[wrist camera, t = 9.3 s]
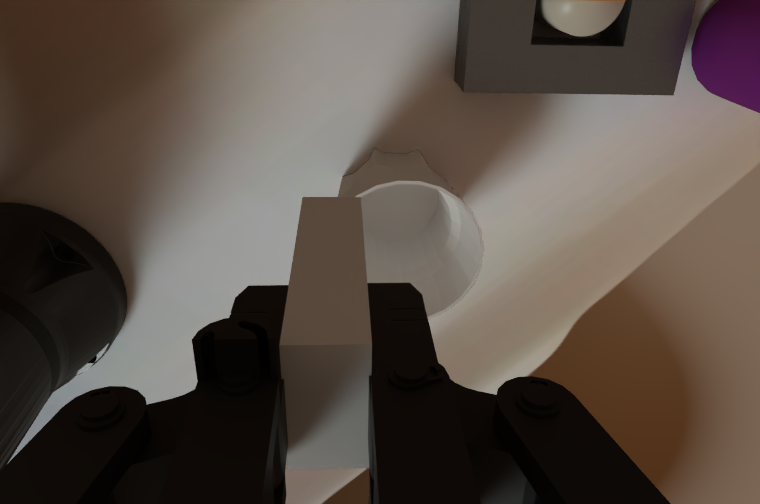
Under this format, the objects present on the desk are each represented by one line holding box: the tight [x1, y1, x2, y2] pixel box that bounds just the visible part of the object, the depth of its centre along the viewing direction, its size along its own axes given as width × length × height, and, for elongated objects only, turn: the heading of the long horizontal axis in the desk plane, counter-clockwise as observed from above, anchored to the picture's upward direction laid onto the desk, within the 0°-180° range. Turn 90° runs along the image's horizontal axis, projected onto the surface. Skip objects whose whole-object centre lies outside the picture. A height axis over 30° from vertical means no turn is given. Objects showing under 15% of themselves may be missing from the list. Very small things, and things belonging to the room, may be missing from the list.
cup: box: [338, 148, 484, 320], centre depth 42 cm, size 10×10×10 cm
